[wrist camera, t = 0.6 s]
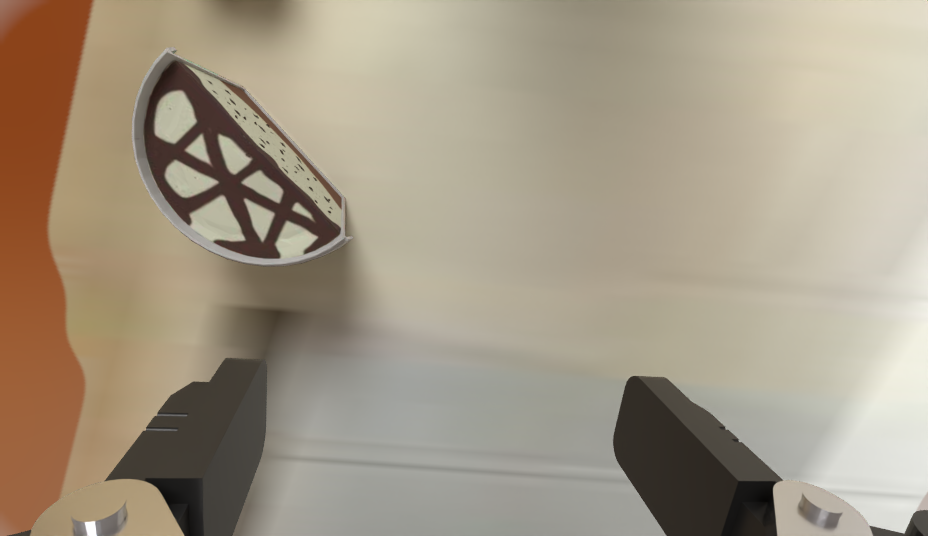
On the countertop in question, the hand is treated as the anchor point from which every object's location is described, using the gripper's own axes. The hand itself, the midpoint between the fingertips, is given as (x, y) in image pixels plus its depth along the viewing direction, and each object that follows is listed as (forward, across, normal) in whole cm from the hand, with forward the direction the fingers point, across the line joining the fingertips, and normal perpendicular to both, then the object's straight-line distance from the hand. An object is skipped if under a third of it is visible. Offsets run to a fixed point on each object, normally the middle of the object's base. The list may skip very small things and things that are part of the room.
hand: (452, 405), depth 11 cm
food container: (+26, +10, -1) cm, 28 cm away
